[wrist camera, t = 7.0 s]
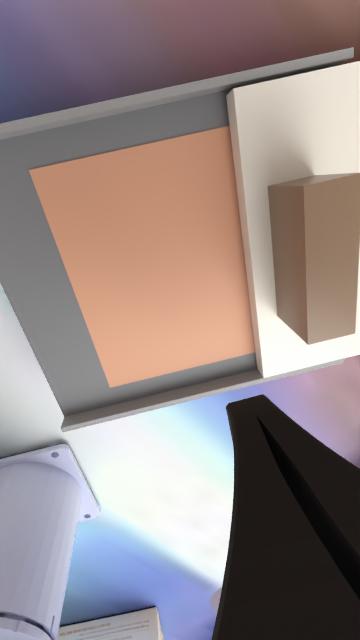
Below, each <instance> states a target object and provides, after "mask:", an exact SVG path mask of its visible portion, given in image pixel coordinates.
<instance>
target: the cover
mask: <svg viewBox="0 0 360 640" xmlns="http://www.w3.org/2000/svg"><path fill="white" fill-rule="evenodd" d="M226 98H227V107H228V116H229V125H230V133H231V142H232V151H233V160H234V169H235V177H236V186H237V195H238V204H239V213H240V221H241V230H242V239H243V248H244V256H245V265H246V274H247V283H248V292H249V300H250V309H251V318H252V327H253V336H254V344H255V353H256V362H257V368H258V370H259V372H260V373H261V375H262V376H263V378H266V377H270V376H274V375H278V374H282V373H286V372H290V371H294V370H298V369H303V368H307V367H311V366H315V365H319V364H323V363H327V362H331V361H335V360H339V359H343V358H347V357H351V356H355V355H359V354H360V61H357V62H353V63H348V64H343V65H339V66H334V67H330V68H325V69H320V70H316V71H311V72H307V73H302V74H297V75H293V76H288V77H284V78H279V79H275V80H270V81H265V82H261V83H256V84H252V85H247V86H242V87H238V88H233V89H232V90H231V91H230V93H229V94H228V95H227V96H226Z"/></svg>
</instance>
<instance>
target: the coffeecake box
mask: <svg viewBox="0 0 360 640" xmlns="http://www.w3.org/2000/svg"><path fill="white" fill-rule="evenodd" d="M57 640H163V634H162V630H161V626H160V620H159V615H158V611H157V608H156V607H153V608H149V609H145V610H140V611H135V612H131V613H126V614H122V615H116V616H112V617H107V618H102V619H97V620H92V621H88V622H83V623H78V624H73V625H68V626H63V627H59V630H58V636H57Z"/></svg>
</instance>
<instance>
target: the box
mask: <svg viewBox="0 0 360 640" xmlns="http://www.w3.org/2000/svg"><path fill="white" fill-rule="evenodd" d="M353 57H354V47H351V48H347V49H342V50H338V51H333V52H328V53H324V54H319V55H314V56H310V57H305V58H301V59H296V60H291V61H287V62H282V63H278V64H273V65H268V66H264V67H259V68H254V69H250V70H245V71H241V72H236V73H231V74H227V75H222V76H217V77H213V78H208V79H204V80H199V81H194V82H190V83H185V84H180V85H176V86H171V87H167V88H162V89H157V90H153V91H148V92H143V93H139V94H134V95H130V96H125V97H120V98H116V99H111V100H107V101H102V102H97V103H93V104H88V105H83V106H79V107H74V108H70V109H65V110H60V111H56V112H51V113H46V114H42V115H37V116H33V117H28V118H23V119H19V120H14V121H9V122H5V123H0V282H1V284H2V286H3V289H4V291H5V293H6V295H7V297H8V299H9V301H10V303H11V305H12V307H13V310H14V312H15V314H16V316H17V318H18V320H19V322H20V324H21V326H22V328H23V331H24V333H25V335H26V337H27V339H28V341H29V343H30V345H31V347H32V349H33V352H34V354H35V356H36V358H37V360H38V362H39V364H40V366H41V368H42V370H43V372H44V375H45V377H46V379H47V381H48V383H49V385H50V387H51V389H52V391H53V393H54V396H55V398H56V400H57V402H58V404H59V406H60V408H61V410H62V412H63V414H64V420H63V423H62V426H61V429H62V432H66V431H70V430H74V429H78V428H82V427H86V426H90V425H94V424H98V423H102V422H106V421H110V420H114V419H118V418H122V417H126V416H130V415H135V414H139V413H143V412H147V411H151V410H155V409H159V408H163V407H167V406H171V405H175V404H179V403H183V402H187V401H191V400H195V399H199V398H203V397H207V396H211V395H215V394H219V393H223V392H227V391H232V390H236V389H240V388H244V387H248V386H252V385H256V384H260V383H264V382H268V381H272V380H276V379H280V378H284V377H288V376H292V375H296V374H300V373H304V372H308V371H312V370H316V369H320V368H324V367H329V366H333V365H337V364H341V363H344V358H343V359H339V360H335V361H331V362H327V363H323V364H319V365H315V366H311V367H307V368H303V369H298V370H294V371H290V372H286V373H282V374H278V375H274V376H270V377H266V378H263V376H262V375H261V373H260V372H259V370H258V368H257V362H256V353H255V344H254V336H253V327H252V318H251V309H250V300H249V292H248V283H247V274H246V265H245V256H244V248H243V239H242V230H241V221H240V213H239V204H238V195H237V186H236V177H235V169H234V160H233V151H232V142H231V133H230V125H229V116H228V107H227V98H226V96H227V95H228V94H229V93H230V91H231V90H232V89H233V88H238V87H242V86H247V85H252V84H256V83H261V82H265V81H270V80H275V79H279V78H284V77H288V76H293V75H297V74H302V73H307V72H311V71H316V70H320V69H325V68H330V67H334V66H339V65H341V64H343V63H345V62H346V61H348V60H350V59H351V58H353Z"/></svg>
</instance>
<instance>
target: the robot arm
mask: <svg viewBox="0 0 360 640" xmlns="http://www.w3.org/2000/svg"><path fill="white" fill-rule="evenodd" d="M226 410H227V415H228V420H229V425H230V430H231V435H232V440H233V446H234V497H233V511H232V522H231V531H230V540H229V548H228V555H227V562H226V568H225V574H224V580H223V586H222V592H221V597H220V603H219V608H218V613H217V617H216V622H215V627H214V631H213V636H212V640H360V468H358V467H356V466H355V465H353V464H352V463H350V462H349V461H347V460H346V459H344V458H343V457H341V456H340V455H338V454H337V453H335V452H334V451H333V450H331V449H330V448H328V447H327V446H326V445H324V444H323V443H321V442H320V441H319V440H317V439H316V438H315V437H313V436H312V435H311V434H310V433H308V432H307V431H306V430H304V429H303V428H302V427H301V426H299V425H298V424H297V423H296V422H294V421H293V420H292V419H291V418H290V417H288V416H287V415H286V414H285V413H284V412H283V411H281V410H280V409H279V408H278V407H277V406H276V405H275V404H274V403H273V402H271V401H270V400H269V399H268V398H267V397H266V396H264V395H263V394H262V395H258V396H255V397H251V398H247V399H243V400H240V401H236V402H232V403H228V405H227V406H226ZM54 452H57V453H54ZM99 515H100V508H99V506H98V504H97V502H96V500H95V498H94V496H93V494H92V492H91V490H90V488H89V486H88V484H87V481H86V479H85V477H84V475H83V473H82V471H81V469H80V467H79V465H78V463H77V461H76V459H75V457H74V455H73V453H72V451H71V449H70V447H69V446H68V445H66V444H59V445H55V446H51V447H47V448H43V449H39V450H35V451H31V452H27V453H23V454H19V455H15V456H11V457H7V458H3V459H0V640H57V636H58V630H59V625H60V619H61V614H62V608H63V603H64V597H65V592H66V586H67V581H68V575H69V570H70V564H71V559H72V553H73V547H74V542H75V536H76V531H77V525H78V522H82V521H86V520H90V519H94V518H97V517H98V516H99Z"/></svg>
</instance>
